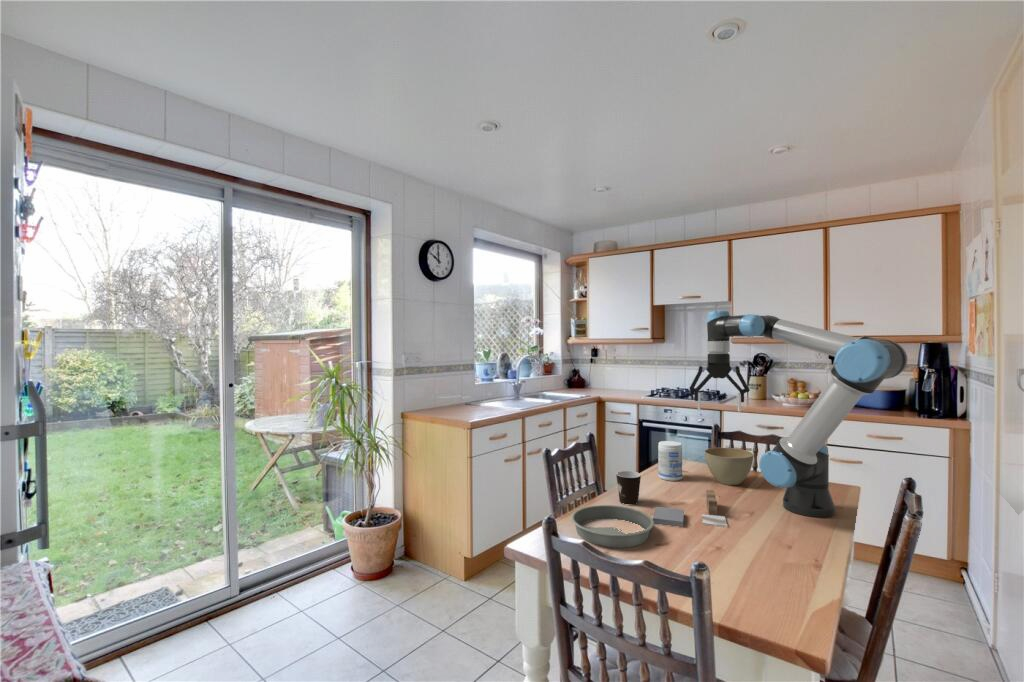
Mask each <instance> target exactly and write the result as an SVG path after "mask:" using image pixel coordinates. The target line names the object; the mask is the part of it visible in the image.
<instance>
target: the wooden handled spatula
mask: <svg viewBox="0 0 1024 682" xmlns="http://www.w3.org/2000/svg"><path fill="white" fill-rule="evenodd" d="M705 493H706V494H705V497H706V501H705V503H706V504H707V505H706V509H707V514H704V513H702V514H701V518H702V520H703V521H702V525H703V524H707V525H706V526H709V525H716V526H715V527H719V526H727V527H726V528H728V523H727V519H726V517H725V516H724V515H718V501H717V497H716V493H715V491H714V490H705ZM708 513H709V514H708Z"/></svg>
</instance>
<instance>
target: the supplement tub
mask: <svg viewBox="0 0 1024 682" xmlns="http://www.w3.org/2000/svg"><path fill="white" fill-rule="evenodd" d="M682 446H683V443H681V442H678V441H672V440H661V441H659V442H658V445H657V447H658V449H657V451H658V455H657V457H658V458H657V460H658V462H657V463H658V467H657V468H658V469H657V471H658V473H657V475H658V477H659V479H661V480H664V481H671V482H676V481H677V482H678V481H680V480H682V479H683V447H682Z"/></svg>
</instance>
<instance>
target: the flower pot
mask: <svg viewBox="0 0 1024 682" xmlns="http://www.w3.org/2000/svg"><path fill="white" fill-rule="evenodd" d="M704 458H705V462H706V465H707V468H708V470H709V471H710V473H711V475H712V476H713V478H714V479H715V480H716V481H717V482H718V483H720V484H722V485H728V486H738V485H741V484H742V483H743V482H744V480H745V479H746V478H747V476H748V475H749V473H750V471H751V469H752V467H753V464H754V463H753V462H754V453H753V452H751V451H750V450H749V451H748V450H746V449H741V448H734V447H733V448H732V447H711V448H706V449H705V450H704Z"/></svg>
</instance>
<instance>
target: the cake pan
mask: <svg viewBox="0 0 1024 682" xmlns="http://www.w3.org/2000/svg"><path fill="white" fill-rule="evenodd" d="M570 518H571V521H572V523H573V525H575V530H576V533H577V534H578V536H579V537H580V539H583V540H584V541H586V542H588V543H590V544H592V545H593V544H594V545H597V546H600V547H607V548H629V547H634V546H635V545H636V546H638V545H641V544H643V543H645V542H646V541H647V540H648V539H649V535H650V531H651V530H652V529H653V527H654V526H655V524H654V521H653V517H651V515H649V514H648V513H646V512H644V511H641V510H639V509H635V508H633V507H628V506H623V505H616V504H615V505H613V504H612V505H611V504H598V505H596V504H595V505H590V506H584V507H582V508H579V509H577V510H575V511H574V512H573V513H572V514H571V517H570ZM613 519H617V520H616V521H621V520H625V521H624V522H626V521H629V522H628V523H630V522H632V523H631V524H633V523H635V524H638V525H640V526H641V527H642V528H644V529H645V530H643V531H639V532H635V533H628V534H625V533H623V532H621V531H622V530H621V529H620V530H621V531H619V530H618V529H617V528H615V527H616V526H613V527H614V528H615V529H614V528H613V527H612V526H610V527H608V526H604V527H601V526H600V527H596V526H595V527H591V526H586V525H583V524H585V523H588V522H592V521H599V520H600V521H601V520H613ZM618 531H619V532H618ZM647 538H648V539H647Z"/></svg>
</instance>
